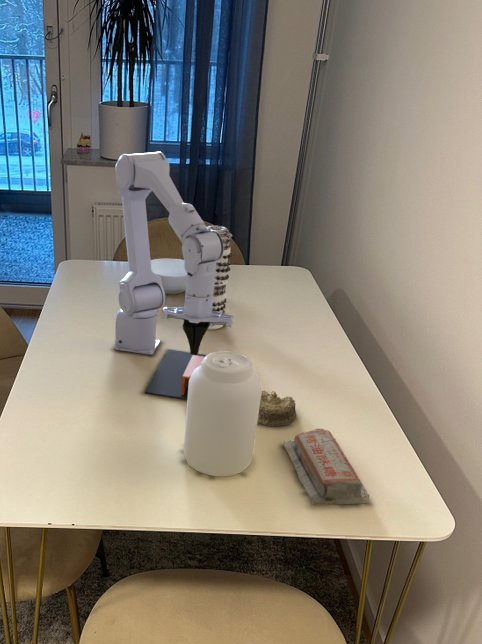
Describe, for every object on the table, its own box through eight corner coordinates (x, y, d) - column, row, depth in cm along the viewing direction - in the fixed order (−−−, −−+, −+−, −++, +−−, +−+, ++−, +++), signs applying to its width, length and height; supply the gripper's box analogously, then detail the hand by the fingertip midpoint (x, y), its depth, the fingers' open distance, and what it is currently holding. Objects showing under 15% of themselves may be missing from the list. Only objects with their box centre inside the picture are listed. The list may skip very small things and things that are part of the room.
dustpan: (182, 375, 135) (225, 382, 133) (198, 343, 149) (237, 348, 147) (181, 394, 137) (223, 401, 135) (196, 360, 151) (235, 366, 149)
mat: (144, 393, 138) (144, 391, 138) (168, 350, 156) (168, 349, 156) (227, 406, 134) (228, 405, 134) (242, 361, 152) (242, 360, 152)
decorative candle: (216, 314, 176) (225, 222, 163) (230, 328, 169) (241, 232, 156) (185, 317, 174) (192, 224, 161) (198, 331, 166) (206, 234, 153)
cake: (293, 432, 127) (296, 410, 124) (242, 424, 130) (245, 402, 127) (298, 405, 135) (302, 383, 132) (251, 397, 138) (253, 376, 134)
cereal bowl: (200, 301, 185) (202, 277, 181) (142, 299, 185) (143, 275, 181) (197, 280, 199) (199, 258, 195) (143, 278, 199) (144, 256, 195)
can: (202, 485, 111) (212, 382, 101) (171, 446, 121) (177, 349, 110) (264, 469, 116) (280, 370, 105) (229, 433, 125) (240, 339, 115)
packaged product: (376, 481, 106) (316, 483, 105) (369, 505, 108) (311, 507, 107) (338, 423, 121) (286, 424, 120) (333, 444, 123) (282, 446, 122)
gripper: (160, 294, 130) (157, 355, 137) (231, 303, 127) (225, 365, 134) (168, 283, 135) (165, 342, 143) (237, 291, 132) (230, 351, 140)
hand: (194, 352), depth 139 cm, fingers closed
